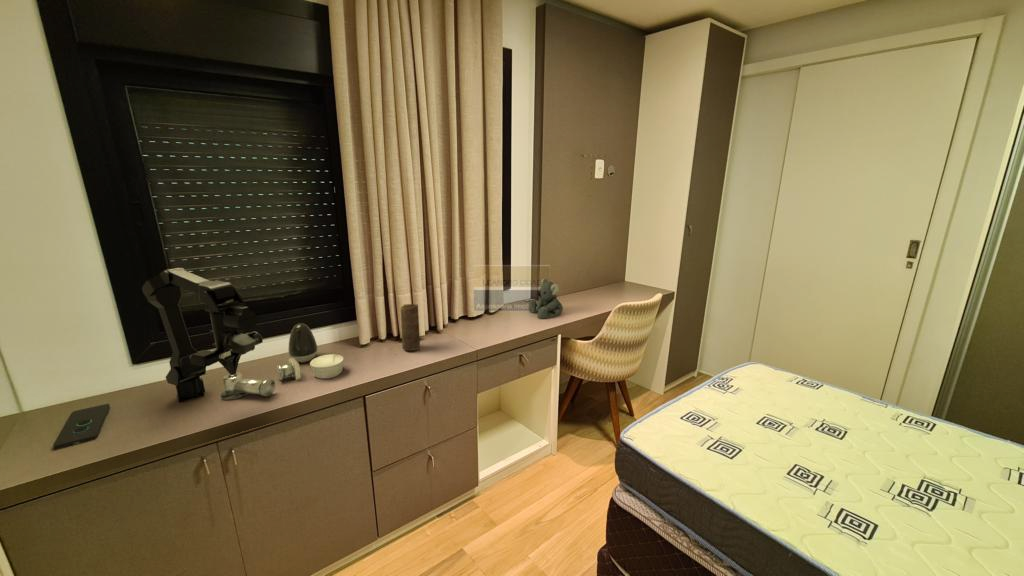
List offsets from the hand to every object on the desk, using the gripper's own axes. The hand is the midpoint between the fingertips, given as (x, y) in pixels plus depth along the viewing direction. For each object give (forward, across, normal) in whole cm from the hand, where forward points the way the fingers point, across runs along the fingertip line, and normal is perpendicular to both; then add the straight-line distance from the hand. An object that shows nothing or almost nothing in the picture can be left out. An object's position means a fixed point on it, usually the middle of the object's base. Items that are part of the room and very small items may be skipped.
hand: (233, 374), depth 118 cm
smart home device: (+13, -19, +34) cm, 41 cm away
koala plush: (+12, +123, -77) cm, 146 cm away
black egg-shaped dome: (+12, +35, +7) cm, 38 cm away
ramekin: (+12, +28, -9) cm, 32 cm away
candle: (+12, +57, -28) cm, 64 cm away
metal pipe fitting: (+12, +14, +6) cm, 19 cm away
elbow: (+11, +8, +5) cm, 15 cm away
